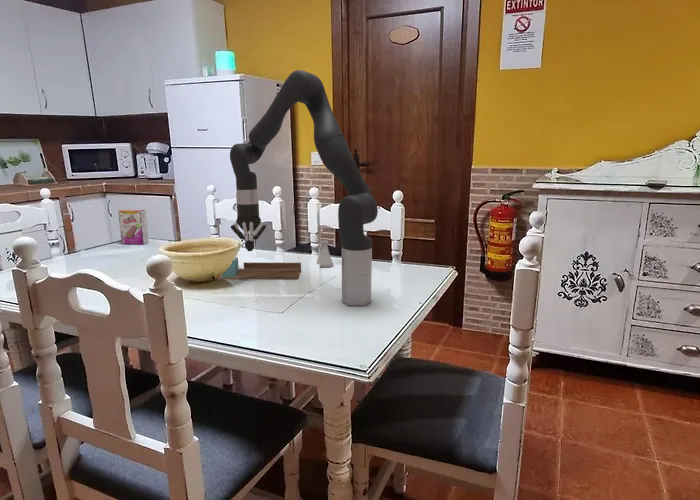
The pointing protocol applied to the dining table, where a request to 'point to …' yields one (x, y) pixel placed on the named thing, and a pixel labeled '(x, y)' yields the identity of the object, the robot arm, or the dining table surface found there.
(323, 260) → the flask
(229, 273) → the teal block
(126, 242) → the candy bar box
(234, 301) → the dining table surface
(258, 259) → the dining table surface
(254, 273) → the trap channel
